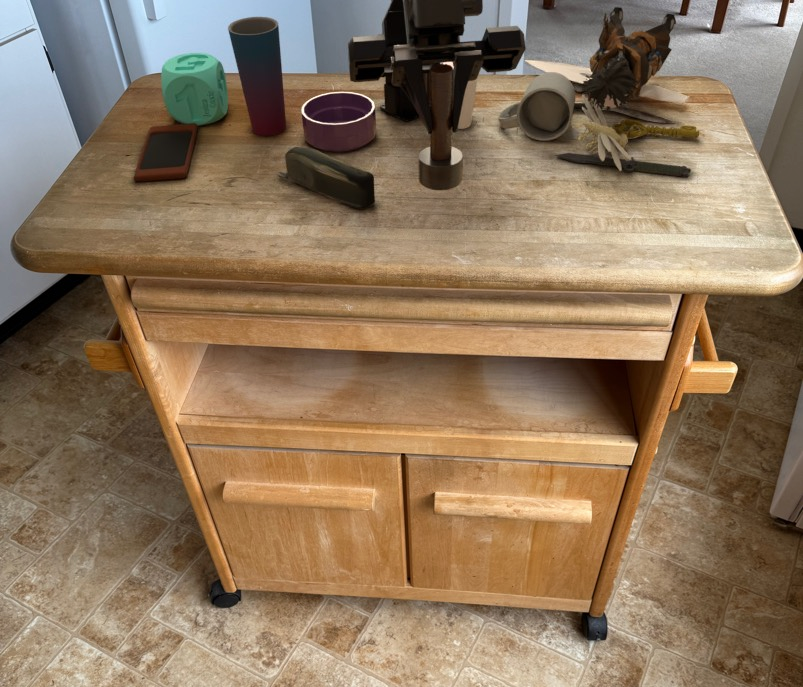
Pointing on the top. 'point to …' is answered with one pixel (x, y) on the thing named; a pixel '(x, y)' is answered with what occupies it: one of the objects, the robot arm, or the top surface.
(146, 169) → the smartphone
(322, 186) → the dark green rounded bar
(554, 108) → the ceramic mug
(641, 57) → the figurine
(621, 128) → the key
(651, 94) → the knife
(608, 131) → the toy
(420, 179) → the brown handled tamper
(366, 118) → the bowl
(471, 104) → the cup
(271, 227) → the top surface
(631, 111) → the knife
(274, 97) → the cup
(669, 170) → the knife
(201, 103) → the decorative dice
